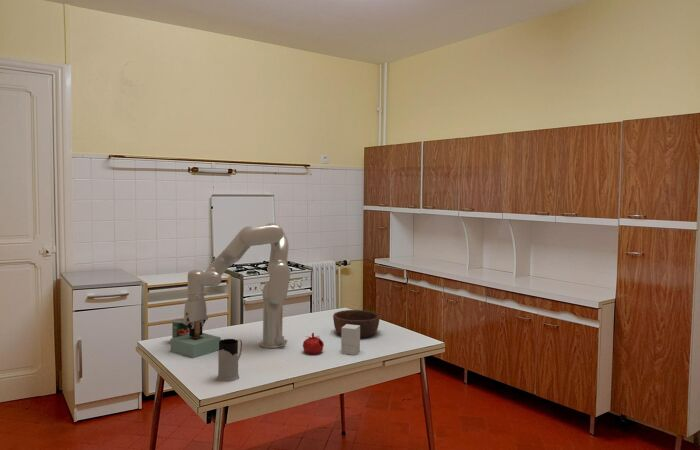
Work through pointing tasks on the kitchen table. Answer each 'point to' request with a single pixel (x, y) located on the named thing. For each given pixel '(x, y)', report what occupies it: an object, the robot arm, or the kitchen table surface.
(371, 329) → the wooden bowl
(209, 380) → the kitchen table surface
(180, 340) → the socket block
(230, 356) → the grey pitcher
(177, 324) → the canned tomato
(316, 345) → the pomegranate
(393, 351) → the kitchen table surface
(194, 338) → the walnut peg
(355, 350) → the supplement box
